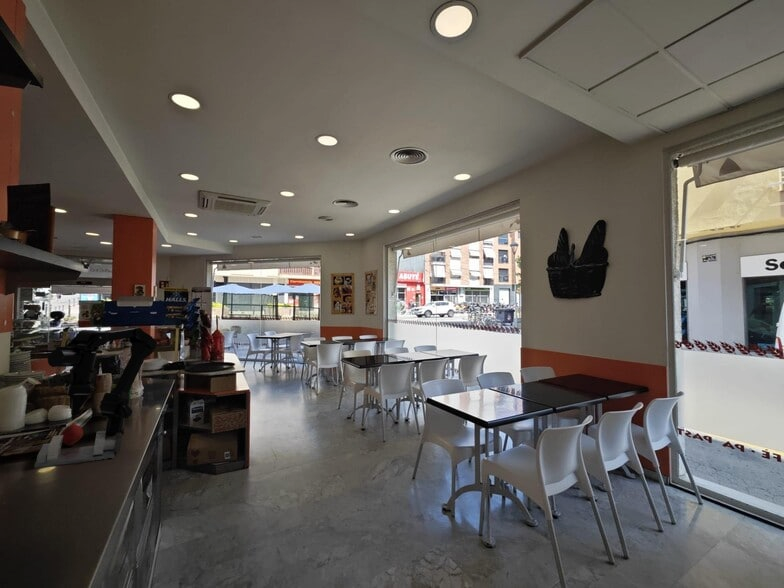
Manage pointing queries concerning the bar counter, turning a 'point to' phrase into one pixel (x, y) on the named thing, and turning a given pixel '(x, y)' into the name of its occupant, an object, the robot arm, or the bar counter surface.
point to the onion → (72, 434)
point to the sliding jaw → (106, 443)
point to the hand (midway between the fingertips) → (72, 411)
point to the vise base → (67, 454)
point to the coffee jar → (114, 383)
